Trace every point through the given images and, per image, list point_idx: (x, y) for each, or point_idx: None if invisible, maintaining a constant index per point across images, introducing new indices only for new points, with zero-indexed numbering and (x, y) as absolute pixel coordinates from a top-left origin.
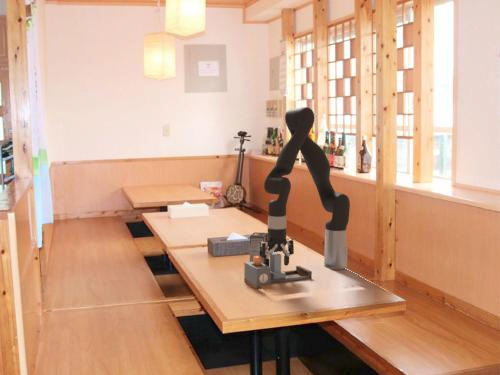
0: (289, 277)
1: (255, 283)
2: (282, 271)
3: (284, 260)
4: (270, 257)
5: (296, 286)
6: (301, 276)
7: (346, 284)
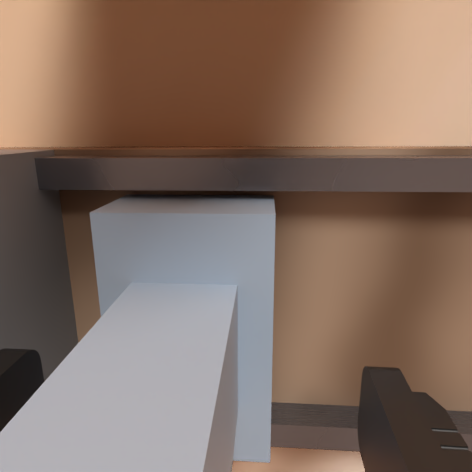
0: (382, 309)
1: None
2: (270, 394)
3: (384, 431)
4: (13, 448)
5: (330, 450)
6: (468, 438)
7: None
